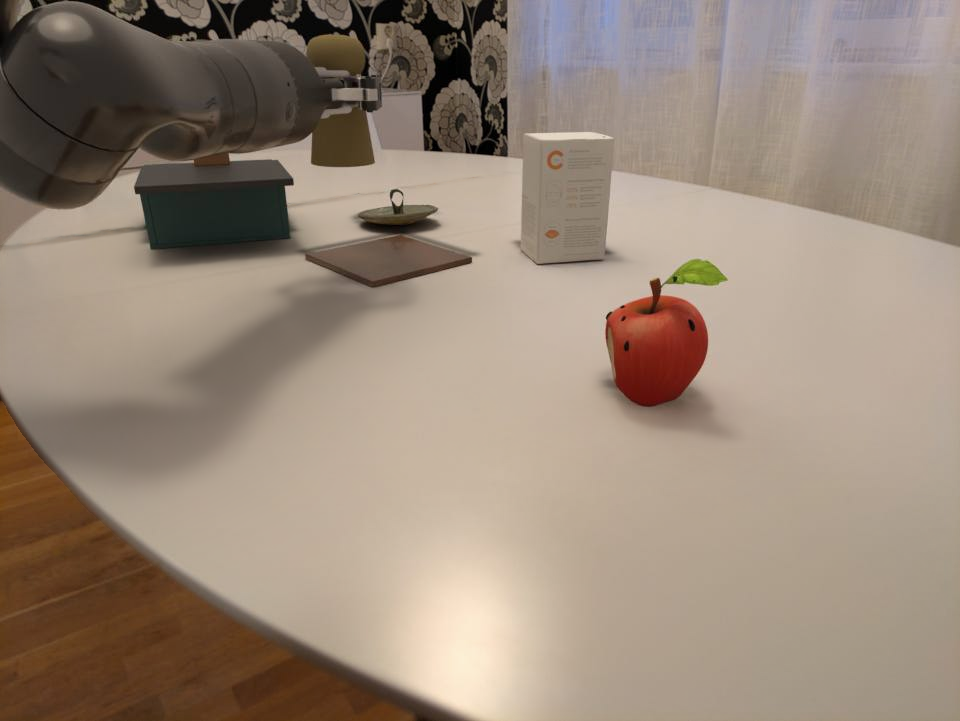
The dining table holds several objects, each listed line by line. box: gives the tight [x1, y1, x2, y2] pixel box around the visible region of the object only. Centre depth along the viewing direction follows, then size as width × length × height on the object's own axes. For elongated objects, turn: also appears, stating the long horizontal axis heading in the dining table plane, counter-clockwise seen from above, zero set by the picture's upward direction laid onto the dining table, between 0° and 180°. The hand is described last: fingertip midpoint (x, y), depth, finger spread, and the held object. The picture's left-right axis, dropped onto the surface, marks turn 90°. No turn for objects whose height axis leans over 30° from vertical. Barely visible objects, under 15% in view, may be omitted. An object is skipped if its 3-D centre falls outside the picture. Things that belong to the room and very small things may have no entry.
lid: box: [357, 188, 439, 226], centre depth 88 cm, size 11×10×5 cm
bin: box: [139, 158, 291, 250], centre depth 83 cm, size 16×14×8 cm
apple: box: [604, 258, 729, 408], centre depth 42 cm, size 8×7×10 cm
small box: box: [520, 131, 615, 265], centre depth 73 cm, size 8×6×13 cm
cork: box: [305, 34, 376, 168], centre depth 62 cm, size 6×6×11 cm
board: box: [304, 234, 473, 288], centre depth 73 cm, size 13×13×1 cm
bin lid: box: [133, 153, 295, 195], centre depth 75 cm, size 16×14×8 cm
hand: (351, 88), depth 64 cm, fingers closed on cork, 4 cm apart
